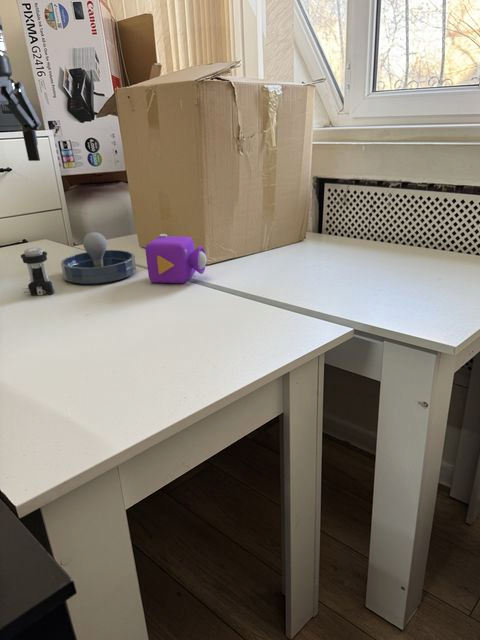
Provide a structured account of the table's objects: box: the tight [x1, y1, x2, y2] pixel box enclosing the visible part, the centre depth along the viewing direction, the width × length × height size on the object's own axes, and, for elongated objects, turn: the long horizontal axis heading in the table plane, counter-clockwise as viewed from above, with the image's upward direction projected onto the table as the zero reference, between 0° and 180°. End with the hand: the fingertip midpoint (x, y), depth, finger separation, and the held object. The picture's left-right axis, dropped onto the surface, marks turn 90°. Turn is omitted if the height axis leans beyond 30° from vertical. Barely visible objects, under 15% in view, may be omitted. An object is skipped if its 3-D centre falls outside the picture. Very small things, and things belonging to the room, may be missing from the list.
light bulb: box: [82, 231, 108, 267], centre depth 124 cm, size 5×5×10 cm
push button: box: [20, 247, 55, 296], centre depth 112 cm, size 7×5×10 cm
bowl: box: [60, 249, 137, 285], centre depth 125 cm, size 17×17×4 cm
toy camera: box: [145, 233, 208, 284], centre depth 119 cm, size 11×14×10 cm
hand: (12, 163), depth 114 cm, fingers open, 13 cm apart
